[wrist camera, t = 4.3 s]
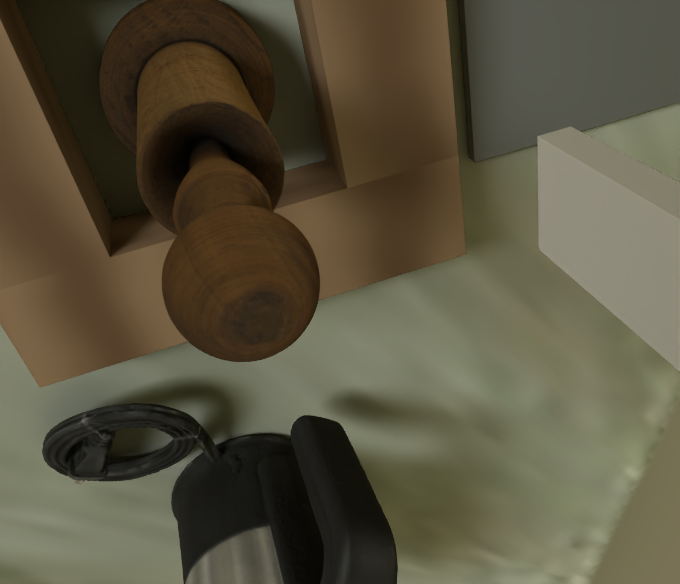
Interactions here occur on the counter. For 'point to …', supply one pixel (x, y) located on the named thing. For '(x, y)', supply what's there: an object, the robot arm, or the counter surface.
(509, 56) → the mat
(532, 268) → the counter surface
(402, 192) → the collar block
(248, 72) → the wooden pepper mill
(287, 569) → the milk frother
